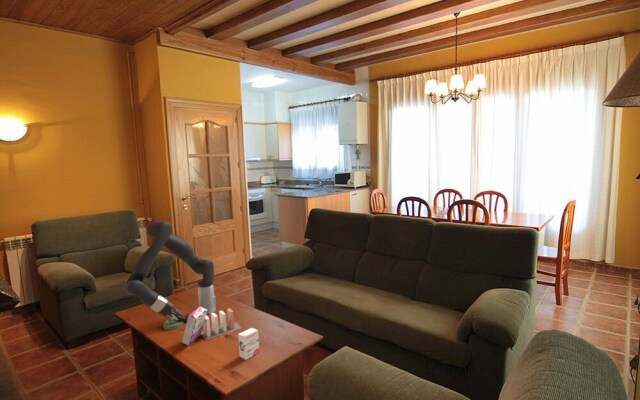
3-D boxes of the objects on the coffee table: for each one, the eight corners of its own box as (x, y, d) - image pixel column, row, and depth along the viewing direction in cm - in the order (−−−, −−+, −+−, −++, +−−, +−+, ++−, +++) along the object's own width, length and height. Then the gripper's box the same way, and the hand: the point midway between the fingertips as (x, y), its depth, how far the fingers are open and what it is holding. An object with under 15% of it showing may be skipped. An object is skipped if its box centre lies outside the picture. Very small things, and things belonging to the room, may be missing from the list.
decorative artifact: (160, 328, 207) (171, 332, 202) (158, 316, 206) (170, 320, 201) (175, 321, 215) (186, 324, 210) (174, 309, 214) (185, 313, 209)
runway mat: (235, 322, 211) (235, 321, 211) (242, 328, 203) (242, 328, 203) (199, 333, 199) (199, 332, 199) (205, 340, 191) (205, 339, 191)
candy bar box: (192, 332, 197) (199, 305, 194) (200, 335, 196) (208, 309, 193) (180, 342, 186) (188, 314, 183) (188, 346, 185) (197, 318, 182)
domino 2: (215, 329, 202) (213, 312, 200) (218, 333, 197) (217, 316, 196) (212, 330, 201) (211, 313, 200) (215, 334, 196) (214, 316, 195)
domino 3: (223, 327, 204) (221, 310, 203) (226, 331, 200) (225, 313, 199) (220, 328, 203) (219, 311, 202) (223, 332, 199) (222, 314, 198)
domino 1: (207, 332, 199) (205, 314, 198) (210, 336, 195) (209, 318, 193) (204, 333, 198) (202, 315, 197) (207, 337, 194) (206, 319, 192)
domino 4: (230, 324, 207) (229, 308, 206) (234, 328, 202) (233, 311, 201) (227, 325, 206) (226, 308, 205) (231, 329, 201) (230, 312, 200)
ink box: (253, 349, 181) (251, 326, 180) (259, 352, 178) (258, 329, 176) (239, 356, 175) (237, 333, 173) (245, 360, 171) (244, 336, 170)
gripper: (167, 304, 178) (195, 322, 185) (166, 294, 190) (192, 312, 197) (156, 316, 177) (185, 334, 183) (156, 306, 189) (183, 323, 195)
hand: (189, 322), depth 190 cm, fingers closed
